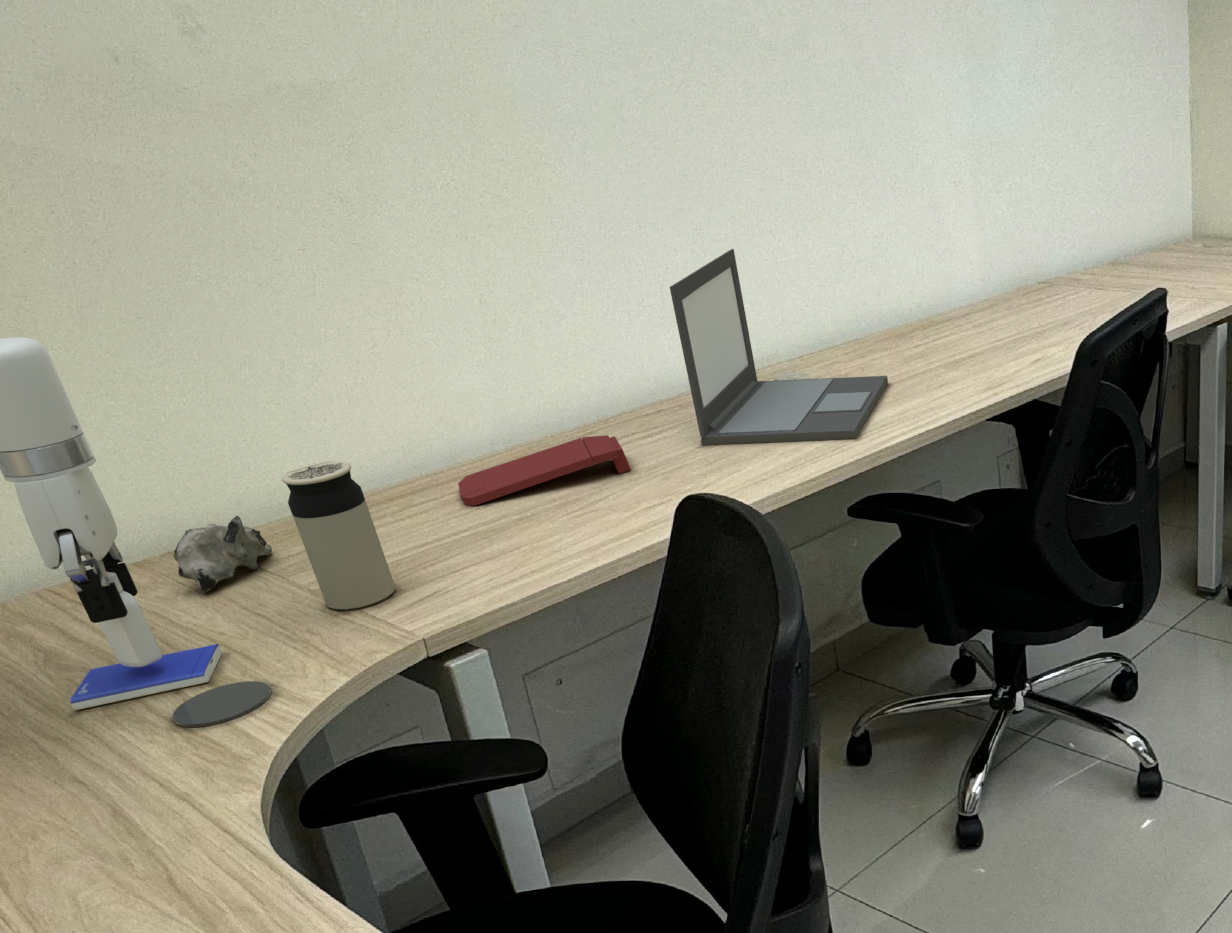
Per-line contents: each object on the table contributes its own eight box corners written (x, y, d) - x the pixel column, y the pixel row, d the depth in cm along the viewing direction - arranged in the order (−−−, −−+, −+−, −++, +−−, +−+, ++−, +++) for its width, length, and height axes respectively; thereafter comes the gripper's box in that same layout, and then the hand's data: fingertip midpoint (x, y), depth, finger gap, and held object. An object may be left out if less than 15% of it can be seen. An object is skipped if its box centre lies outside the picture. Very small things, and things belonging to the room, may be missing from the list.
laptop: (855, 439, 203) (832, 279, 191) (700, 446, 203) (667, 286, 191) (888, 383, 235) (869, 242, 223) (753, 389, 235) (728, 249, 223)
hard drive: (68, 700, 127) (202, 672, 132) (90, 667, 134) (217, 641, 139) (74, 712, 128) (208, 683, 132) (96, 678, 134) (222, 653, 139)
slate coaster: (167, 736, 122) (166, 733, 122) (180, 699, 130) (178, 696, 129) (267, 711, 126) (266, 708, 126) (274, 676, 134) (273, 673, 133)
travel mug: (403, 596, 152) (359, 469, 144) (334, 617, 147) (285, 487, 139) (387, 579, 157) (345, 455, 149) (321, 598, 152) (273, 471, 144)
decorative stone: (199, 554, 165) (193, 490, 161) (277, 556, 169) (272, 493, 165) (167, 603, 152) (159, 534, 148) (252, 604, 156) (246, 537, 152)
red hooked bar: (475, 528, 182) (633, 473, 191) (461, 501, 179) (621, 446, 189) (470, 504, 191) (621, 453, 200) (457, 478, 189) (610, 427, 198)
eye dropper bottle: (115, 675, 129) (69, 579, 123) (117, 656, 133) (73, 563, 128) (163, 662, 131) (120, 568, 126) (164, 644, 135) (122, 552, 130)
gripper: (20, 442, 126) (90, 588, 134) (-25, 488, 113) (55, 648, 121) (105, 429, 130) (168, 572, 137) (72, 472, 116) (144, 629, 124)
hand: (115, 606), depth 129 cm, fingers closed on eye dropper bottle, 5 cm apart
